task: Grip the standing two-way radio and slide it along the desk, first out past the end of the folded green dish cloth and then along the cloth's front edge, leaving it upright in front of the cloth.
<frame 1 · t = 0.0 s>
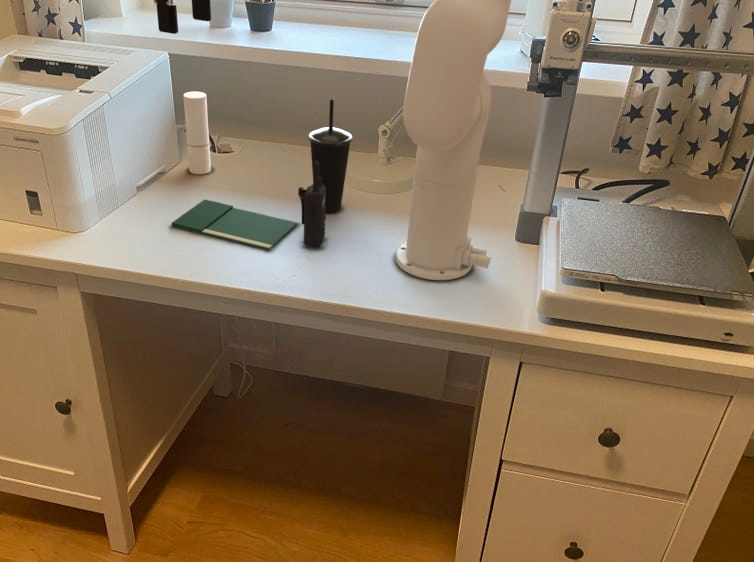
hand: (185, 26, 120), 31 cm above the table, tool pointing down, fingers open, 9 cm apart
two-way radio: (311, 243, 129), on the table
drinking cup: (327, 208, 141), on the table
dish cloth: (235, 225, 133), on the table
tube: (200, 171, 153), on the table
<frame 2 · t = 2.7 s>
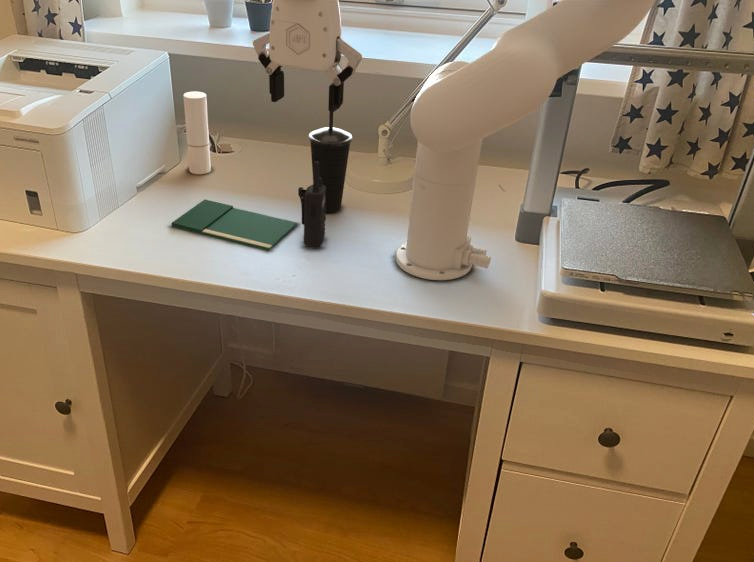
hand: (305, 104, 116), 23 cm above the table, tool pointing down, fingers open, 9 cm apart
nothing on the table moved.
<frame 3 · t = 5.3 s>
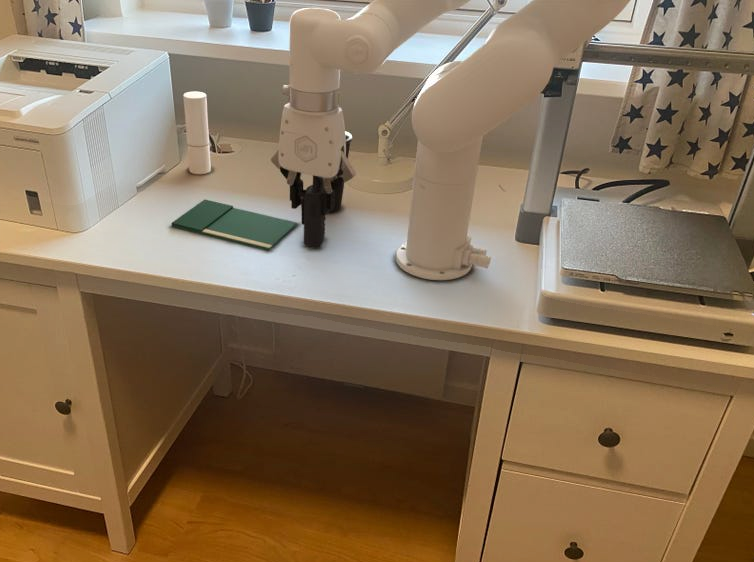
hand: (312, 207, 125), 6 cm above the table, tool pointing down, fingers closed on two-way radio, 4 cm apart
two-way radio: (311, 243, 129), on the table, touching gripper
everything else where it was.
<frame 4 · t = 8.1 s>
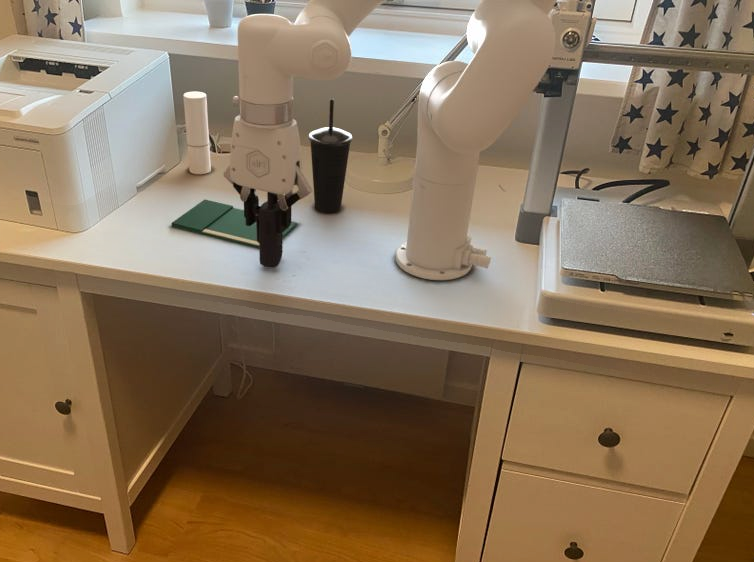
hand: (267, 225, 118), 7 cm above the table, tool pointing down, fingers closed on two-way radio, 4 cm apart
two-way radio: (267, 262, 122), on the table, touching gripper
everything else where it was.
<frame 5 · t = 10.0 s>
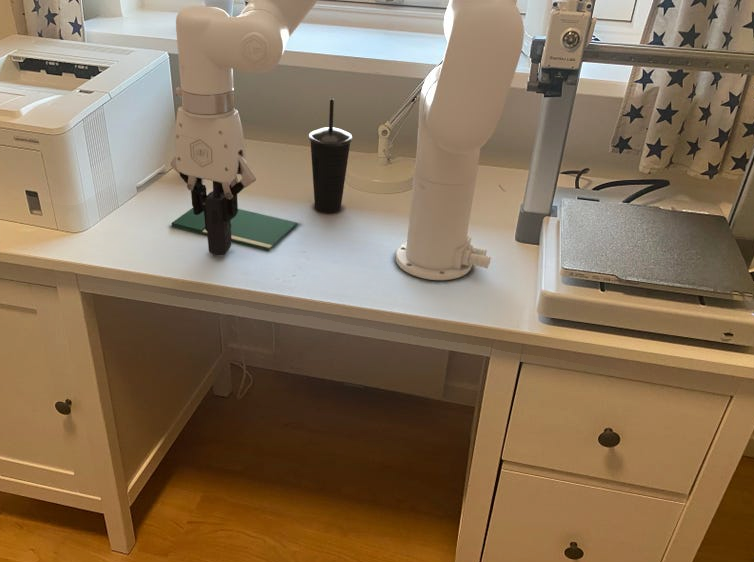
hand: (215, 214, 121), 7 cm above the table, tool pointing down, fingers closed on two-way radio, 4 cm apart
two-way radio: (217, 250, 125), on the table, touching gripper
everything else where it was.
when the fingers open (6 cm above the table, at t = 11.2 s): two-way radio stays where it is, on the table.
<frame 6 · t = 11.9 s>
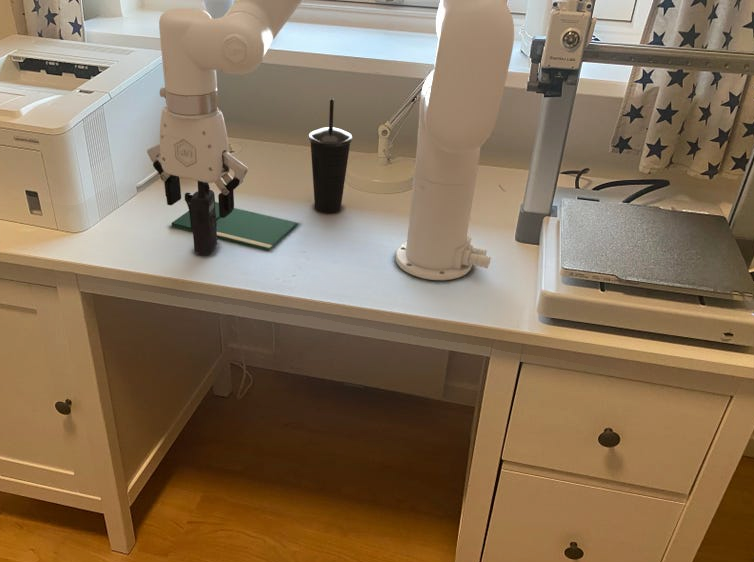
hand: (200, 208, 121), 7 cm above the table, tool pointing down, fingers open, 9 cm apart
two-way radio: (202, 250, 126), on the table
everything else where it was.
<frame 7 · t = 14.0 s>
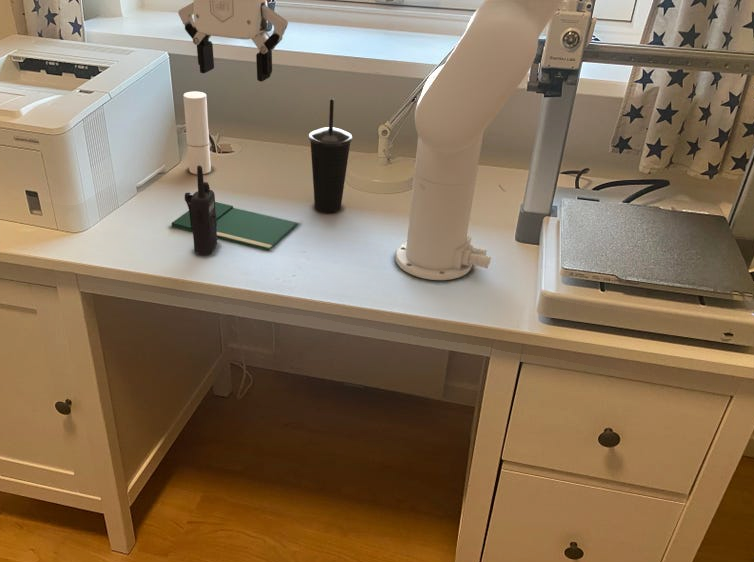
hand: (235, 75, 114), 27 cm above the table, tool pointing down, fingers open, 9 cm apart
nothing on the table moved.
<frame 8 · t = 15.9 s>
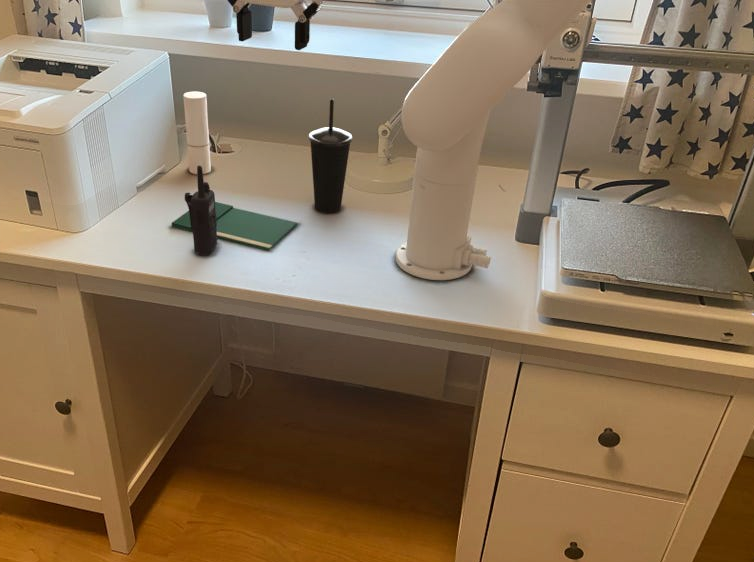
hand: (272, 43, 117), 30 cm above the table, tool pointing down, fingers open, 9 cm apart
nothing on the table moved.
at the end: two-way radio inside the target area (0.8 cm from its centre), on the table; two-way radio tilted 0°; the gripper is holding nothing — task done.
